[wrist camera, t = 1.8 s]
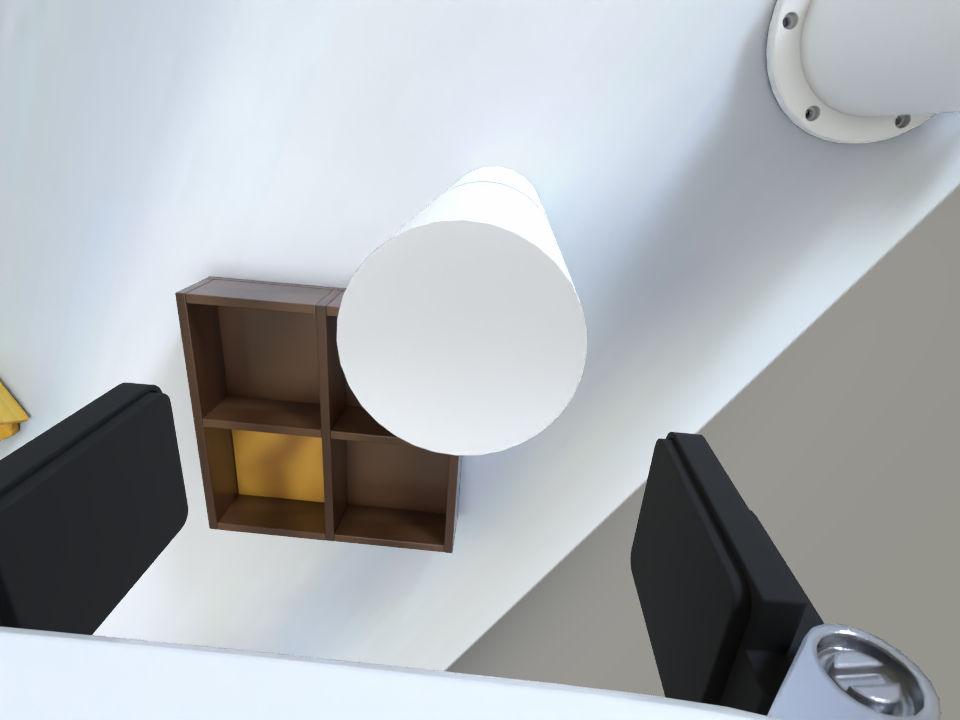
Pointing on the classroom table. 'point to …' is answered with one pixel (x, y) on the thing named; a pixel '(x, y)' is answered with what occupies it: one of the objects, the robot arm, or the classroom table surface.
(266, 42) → the classroom table surface
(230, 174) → the classroom table surface
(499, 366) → the cylindrical container
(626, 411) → the classroom table surface
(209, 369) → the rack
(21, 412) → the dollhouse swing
